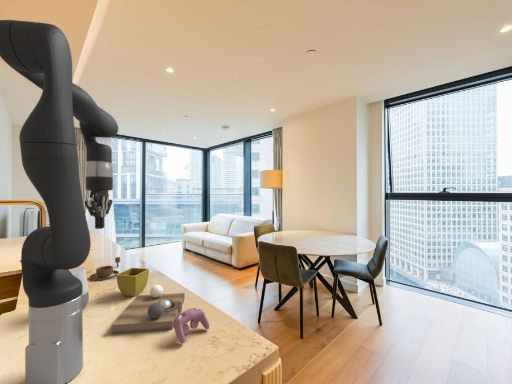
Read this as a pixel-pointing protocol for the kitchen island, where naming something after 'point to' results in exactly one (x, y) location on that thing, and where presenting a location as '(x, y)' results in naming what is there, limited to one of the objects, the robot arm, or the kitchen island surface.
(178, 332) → the video game controller
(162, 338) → the kitchen island surface
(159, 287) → the white ball
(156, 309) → the dark grey ball
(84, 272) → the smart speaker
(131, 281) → the flower pot
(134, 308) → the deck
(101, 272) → the place setting
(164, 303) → the steel ball
